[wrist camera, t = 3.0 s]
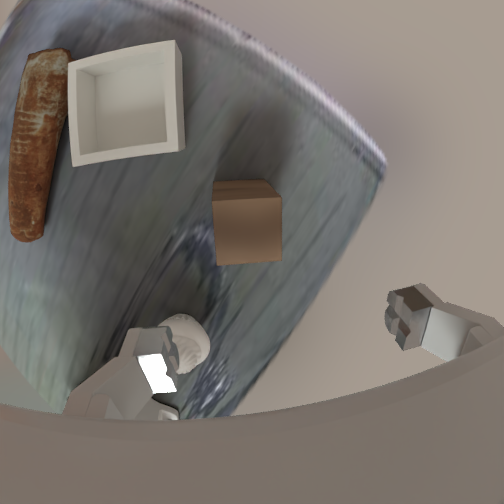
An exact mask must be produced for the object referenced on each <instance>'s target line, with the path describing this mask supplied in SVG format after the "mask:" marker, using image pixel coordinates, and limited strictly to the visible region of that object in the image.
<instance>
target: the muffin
mask: <svg viewBox="0 0 504 504" xmlns="http://www.w3.org/2000/svg"><path fill="white" fill-rule="evenodd" d="M158 326H169V327H170V328H171V331H172V333H173V338H172V341H173V342H174V343H175V344H176V345H177V348H178V353H179V362H180V364H179V369H178V370H177V371H176V373H178V374H181V373H183V374H186V372H191V369H194V368H195V366H196V365H198V364H200V363H201V362H203V361H204V360H205V359H206V358H207V356H208V354H209V351H210V340H209V337H208V335H207V334H206V332H205V330H204V329H203V328H202V326H201V325H200V324H199V323H198V322H197V321H196V320H195V319H194V318H193V317H191V316H190V315H188V314H181V313H180V314H177V315H174V316H172V317H170V318H168V319H166V320H164V321H163V322H162V323H160V325H158Z"/></svg>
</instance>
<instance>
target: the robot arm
mask: <svg viewBox="0 0 504 504" xmlns="http://www.w3.org/2000/svg"><path fill="white" fill-rule="evenodd" d="M387 301H388V303H389V306H388V308H387V309H386V311H385V324H386V327H387V329H388V331H389V332H390V333H391V334H393V335H396V339H395V341H396V342H397V343H398V344H399V346H400V347H401V349H402V350H403V351H404V350H408V349H411V348H415V347H418V346H421V347H423V348H425V349H426V350H428V351H430V352H431V353H433V354H435V355H437V356H438V357H440V358H442V359H443V360H445V361H447V362H446V363H443V364H441V365H439V366H436V367H434V368H431V369H428V370H426V371H423V372H421V373H418V374H415V375H412V376H410V377H407V378H404V379H401V380H398V381H395V382H391V383H388V384H385V385H382V386H379V387H375V388H372V389H368V390H365V391H361V392H358V393H354V394H350V395H346V396H343V397H338V398H334V399H330V400H326V401H321V402H317V403H312V404H307V405H302V406H297V407H292V408H286V409H281V410H275V411H268V412H261V413H253V414H246V415H237V416H227V417H217V418H203V419H185V420H179V413H178V411H177V410H176V409H174V408H172V407H169V406H166V405H164V404H161V403H158V402H157V401H155V400H153V399H152V398H151V397H152V396H153V394H154V393H160V392H174V391H176V389H177V381H178V377H177V374H176V371H177V370H178V369H179V364H180V362H179V353H178V348H177V345H176V344H175V343H174V342H173V341H172V338H173V333H172V331H171V328H170V327H169V326H156V327H143V328H142V327H141V328H130V329H129V330H128V332H127V335H126V337H125V340H124V342H123V345H122V348H121V351H120V353H119V356H118V357H114V358H113V359H112V360H110V361H109V362H108V363H107V364H105V365H104V366H103V367H102V368H100V369H99V370H98V371H97V372H95V373H94V374H93V375H91V376H90V377H89V378H88V379H86V380H85V381H84V382H83V383H81V384H80V385H79V386H78V387H76V388H75V389H74V390H73V391H71V393H70V396H69V398H68V401H67V403H66V405H65V408H64V410H63V413H62V414H56V413H49V412H42V411H36V410H31V409H25V408H21V407H16V406H12V405H7V404H3V403H0V504H504V327H503V326H502V325H501V324H500V323H499V322H498V321H497V320H496V319H495V318H492V317H490V316H487V315H484V314H481V313H477V312H475V311H472V310H469V309H466V308H463V307H460V306H457V305H454V304H451V303H448V302H446V303H444V302H443V301H442V300H441V299H440V298H439V297H437V296H436V295H435V294H434V293H433V292H432V291H431V290H430V289H429V288H428V287H427V286H426V285H425V284H422V283H420V284H416V285H413V286H410V287H406V288H402V289H397V290H393V291H390V292H389V294H388V297H387Z"/></svg>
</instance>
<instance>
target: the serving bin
mask: <svg viewBox="0 0 504 504" xmlns="http://www.w3.org/2000/svg"><path fill="white" fill-rule="evenodd" d="M68 117H69V134H70V146H71V157H72V166H73V167H76V166H81V165H87V164H92V163H97V162H103V161H109V160H115V159H122V158H128V157H135V156H143V155H151V154H159V153H168V152H177V151H180V150H182V149H185V148H186V145H185V128H184V106H183V75H182V54H181V52H180V50H179V48H178V46H177V43H176V41H175V40H169V41H162V42H155V43H149V44H143V45H138V46H133V47H128V48H123V49H118V50H114V51H110V52H106V53H102V54H98V55H94V56H90V57H87V58H83V59H80V60H77V61H73V62H70V63H68Z"/></svg>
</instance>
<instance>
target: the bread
mask: <svg viewBox="0 0 504 504" xmlns="http://www.w3.org/2000/svg"><path fill="white" fill-rule="evenodd" d="M73 61H77V60H75V59H72V58H71V53H70V51H69V50H66V49H64V48H56V49H46V50H42V51H38V52H36V53H32V54H29V55H28V59H27V62H26V65H25V68H24V71H23V74H22V78H21V84H20V89H19V93H18V98H17V103H16V109H15V114H14V123H13V130H12V136H11V143H10V159H9V181H8V199H9V220H10V228H11V234H12V235H13V236H14V237H15V238H16V239H17V240H19V241H21V242H32V241H34V240H36V239H39V238H41V237H42V236H43V233H44V222H45V211H46V205H47V199H48V196H49V190H50V184H51V178H52V172H53V167H54V162H55V157H56V152H57V147H58V143H59V139H60V135H61V132H62V128H63V125H64V121H65V118H66V116H67V113H68V63H70V62H73Z"/></svg>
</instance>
